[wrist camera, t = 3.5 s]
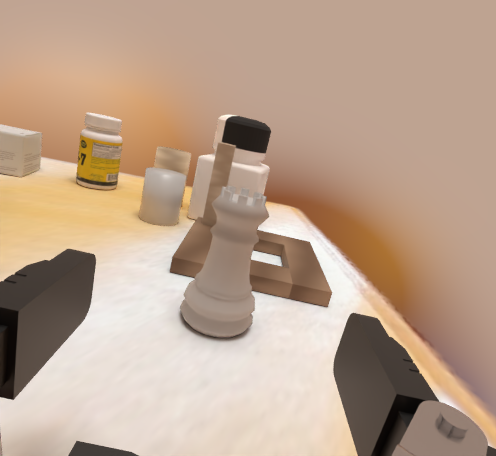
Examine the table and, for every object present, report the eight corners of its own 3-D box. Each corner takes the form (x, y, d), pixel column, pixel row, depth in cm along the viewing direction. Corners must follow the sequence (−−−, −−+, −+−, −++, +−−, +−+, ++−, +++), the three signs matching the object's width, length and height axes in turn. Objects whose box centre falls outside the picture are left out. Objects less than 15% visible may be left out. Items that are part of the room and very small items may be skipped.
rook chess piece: (229, 297, 25) (256, 185, 23) (265, 335, 22) (300, 207, 19) (168, 302, 23) (191, 177, 20) (196, 346, 19) (228, 201, 17)
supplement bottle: (75, 178, 46) (82, 110, 44) (114, 182, 49) (122, 118, 46) (76, 187, 42) (83, 113, 40) (118, 192, 45) (127, 122, 42)
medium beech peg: (144, 202, 43) (153, 147, 41) (154, 196, 47) (162, 145, 45) (178, 210, 43) (187, 156, 41) (184, 203, 47) (193, 153, 45)
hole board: (169, 271, 27) (192, 147, 24) (196, 227, 38) (213, 139, 36) (327, 307, 27) (366, 188, 25) (306, 252, 39) (331, 167, 36)
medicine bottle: (257, 220, 47) (280, 126, 44) (247, 234, 40) (273, 124, 37) (204, 206, 48) (223, 112, 44) (186, 218, 41) (206, 108, 38)
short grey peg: (133, 219, 36) (140, 170, 35) (145, 210, 40) (152, 165, 39) (173, 228, 36) (181, 180, 35) (181, 218, 40) (189, 174, 39)
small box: (41, 170, 46) (43, 131, 45) (21, 178, 41) (24, 135, 40) (-9, 161, 45) (-8, 121, 44) (-36, 168, 40) (-35, 123, 39)
